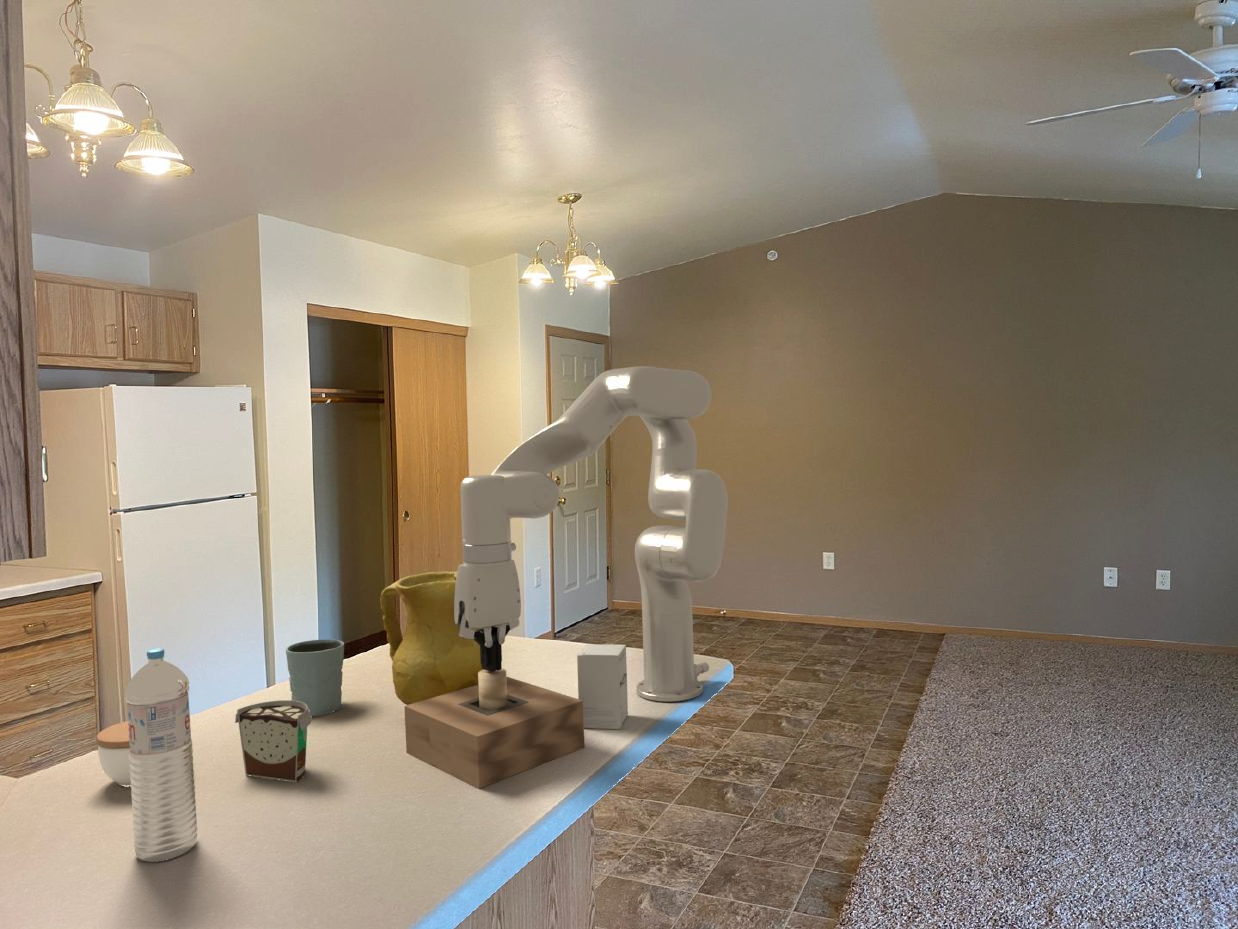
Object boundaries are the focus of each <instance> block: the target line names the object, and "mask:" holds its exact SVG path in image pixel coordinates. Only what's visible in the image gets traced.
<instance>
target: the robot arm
mask: <svg viewBox="0 0 1238 929" xmlns="http://www.w3.org/2000/svg"><path fill="white" fill-rule="evenodd" d="M711 401H712V390H711V386H710V384H709V382H708V381H707V379H706V378H705V377H704V376H703V375H702V374H700V373H698V372H696V371H692V370H684V369H673V368H664V367H655V366H647V365H646V366H644V365H643V366H642V365H640V366H639V365H638V366H630V367H622V368H621V367H619V368H612V369H609V370H608V369H607V370H606V371H604V372H601V373H600V374H599V375H598V376H596V377H595V379H594V380H593V381H592V382H590V384H589V385H588V386H587V387H586V388H585V389H584V391H582V393H581V394H580V395H579V396H578V397H577V398H576V400H575V401H574V402H572V403H571V405H570V406H569V407H568V408H567V409H566V410H565V412H563V413H562V415H560V417H559V418H558V419H556V420H555V421H554V422H552V423H551V424H548V425H547V426H545V427H544V428H543V429H541V430H540V431H538V432H537V433H536V434H533V436H531V437H529V438H528V439H527V440H525V441H524V442H522V443H520V444H519V445H518V446H517V447H516V448H514V449H513V450H512V451H511V452H510V453H509V454H508V455H507V456H506V457H505V458H504V459H503V460H502V461H501V462H500V463H499V465H498V466H496V468H495V469H494V470H493V471H492V472H491V473H490V474H483V475H482V474H481V475H470V476H467V477H464V478H463V480H461V483H460V492H459V493H460V509H461V510H460V512H461V517H460V518H461V536H462V539H461V540H462V563H461V564H458V567H457V571H456V572H457V576H456V584H455V599H454V619H455V624H456V625H457V626H460V632H459V636H460V637H462V638H467V639H474V640H475V641H476V643H477V644H478V645H480V660H481V665H482V669H484V670H487V671H490V672H495V671H496V670H497V671H498V670H501V669H503V668H502V665H503V664H502V661H503V654H502V652H503V651H502V648H503V647H502V645H504V644H505V641H506V637H507V635H508V634H509V632H510V631H512V630H514V629H515V628H517V627H518V626H520V620H519V619H520V617H521V615H522V614H521V613H522V602H521V601H522V600H521V587H520V582H519V574H518V569H517V566H516V563H515V560H514V559H512V555H513V554H512V552H515V551H516V550H517V545H516V544H515V542H512V537H511V535H512V534H511V533H512V532H511V530H512V529H511V520H512V519H514V518H517V519H521V518H522V519H540V518H544V517H546V516H548V515H549V514H551V513H552V512H554V510H555V509H556V508H557V506H558V504H559V501H560V496H561V495H560V494H561V493H560V489H559V485H558V484H557V482H556V481H555V479H553V478H552V477H551V476H549V474H551V473H552V472H554V471H556V470H558V469H560V468H563V467H565V466H568V465H572V464H575V463H578V462H580V461H582V460H584V459H586V458H588V457H590V456H592V455H594V454H595V453H596V452H597V451H598V450H599V449H600V447H602V445H603V444H604V443H605V441H606V440H607V439H608V438H609V436H610V435H612V433H613V432H614V431H615V430H616V428H617V427H618V426H619V425H620V424H621V423H622V422H623V421H624V420H625V419H626V418H627V417H630V416H632V417H634V416H639V418H640V419H641V421H642V422H643V423H644V425H645V426H646V428H647V430H648V431H649V435H650V438H651V442H652V445H651V446H652V452H651V462H650V463H651V465H650V472H649V473H650V475H649V482H648V483H649V484H648V496H647V497H648V498H647V500H648V507H649V509H650V510H651V512H652V513H653V514H654V515H656V516H658V517H660V518H664V519H672V520H678V521H679V520H682V521H685V527H683V526H676V525H675V526H674V525H654V526H650V527H648V528H646V529H645V530H643V531H642V532H641V533H640V534H639V536H638V537H637V539H636V542H635V545H634V560H635V564H636V568H637V573H638V579H639V583H640V584H639V585H640V593H641V594H640V596H641V615H642V616H641V617H642V618H641V619H642V647H643V648H642V649H643V672H644V675H643V677H644V679H643V680H641V681H640V682H638V683H637V685H636V689H635V690H636V693H637V695H638V696H639V697H641V698H643V699H645V700H650V701H655V702H667V703H668V702H669V703H670V702H672V703H673V702H680V701H687V700H691V699H694V698H697V697H699V696H700V695H701V694H702V693H703V691H704V688H703V687H704V686H703V683H702V682H701V681H699V680H698V677H699V676H700V675H702V674H704V673H707V672H708V671H709V670H710V666H709V663H708V662H706V661H704V662H700V663H695V659H694V658H695V657H694V655H695V654H694V651H695V650H694V628H693V627H694V624H693V619H694V618H693V599H692V594H691V590H690V587H689V585H688V582H687V581H689V582H697V583H698V582H701V583H702V582H706V581H709V580H711V579H712V578H714V577H715V575H716V574H717V573H718V572H719V570H720V567H721V565H722V560H723V555H724V548H725V537H726V528H727V515H728V504H729V501H728V499H729V498H728V491H727V488H726V484H725V483H724V480H723V479H722V478H721V476H720V475H719V474H717V473H716V472H715V471H713V470H709V469H704V468H703V469H701V468H700V469H699V468H697V458H698V457H697V454H698V453H697V452H698V443H697V438H696V435H695V431H694V430H693V427H692V426H691V424H690V423H689V421H688V420H691V419H696V418H698V417H700V416H702V415H703V414H704V413H705V412H706V411H707V410H708V409H709V406H710V404H711Z"/></svg>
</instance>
